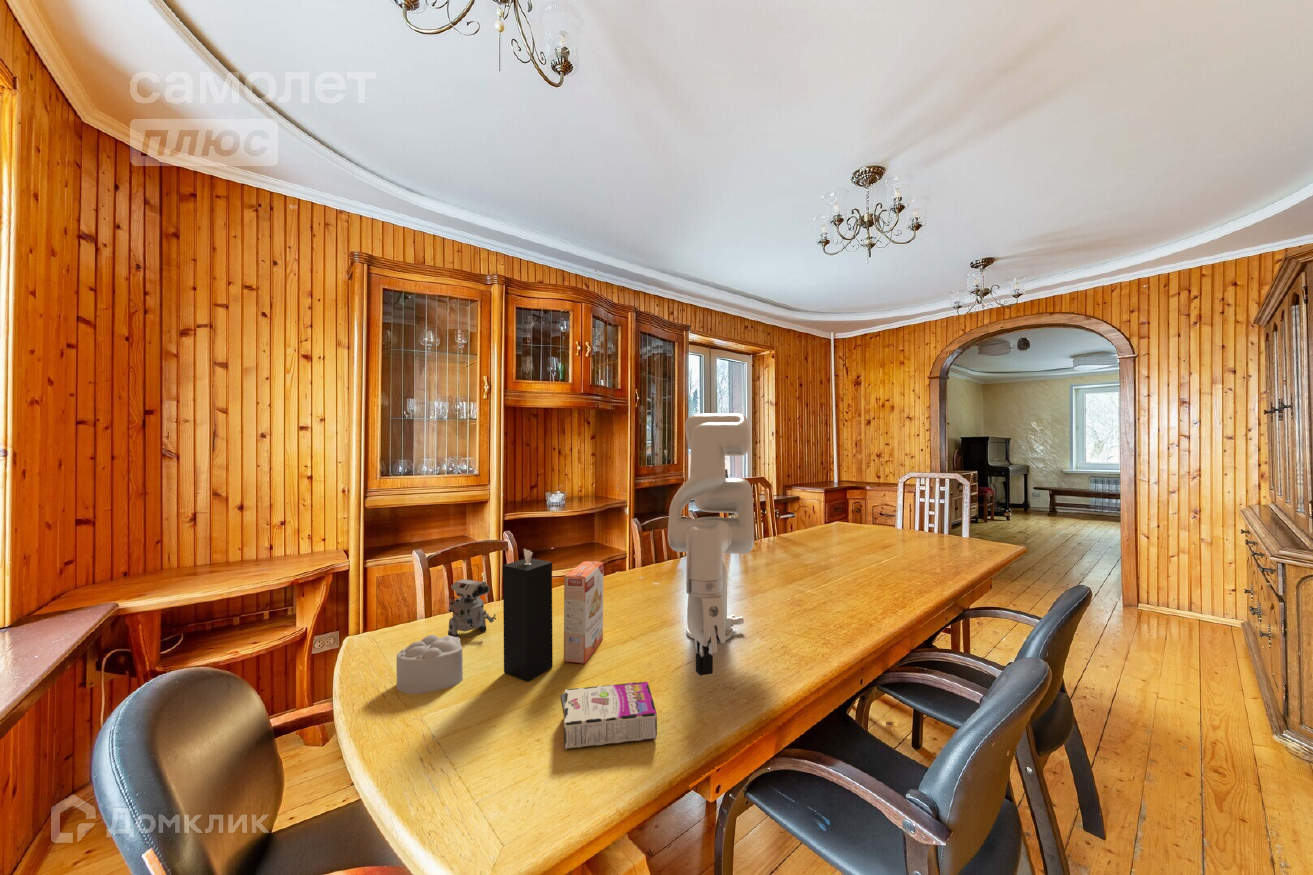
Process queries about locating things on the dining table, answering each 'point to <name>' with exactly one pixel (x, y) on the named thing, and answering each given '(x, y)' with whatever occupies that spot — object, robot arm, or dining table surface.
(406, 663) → the lumpy-topped squat cylinder
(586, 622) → the cracker box
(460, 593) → the figurine
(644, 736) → the candy bar box
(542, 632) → the black tall square box
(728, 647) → the dining table surface
